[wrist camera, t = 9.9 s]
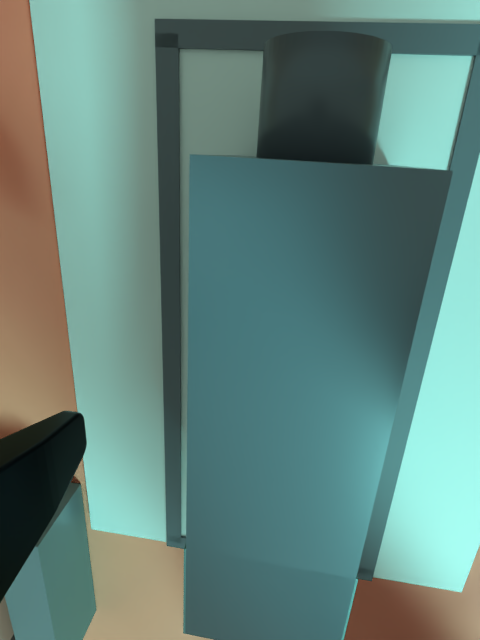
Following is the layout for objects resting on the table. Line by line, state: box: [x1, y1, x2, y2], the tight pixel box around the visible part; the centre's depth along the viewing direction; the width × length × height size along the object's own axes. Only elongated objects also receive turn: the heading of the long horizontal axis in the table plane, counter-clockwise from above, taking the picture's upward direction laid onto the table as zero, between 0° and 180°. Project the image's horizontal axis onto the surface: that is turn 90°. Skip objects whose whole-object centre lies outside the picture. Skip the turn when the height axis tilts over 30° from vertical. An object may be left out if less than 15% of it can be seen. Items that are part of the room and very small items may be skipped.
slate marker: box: [183, 31, 453, 640], centre depth 10 cm, size 14×4×5 cm, turn 177°
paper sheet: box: [29, 0, 480, 592], centre depth 13 cm, size 20×15×1 cm
